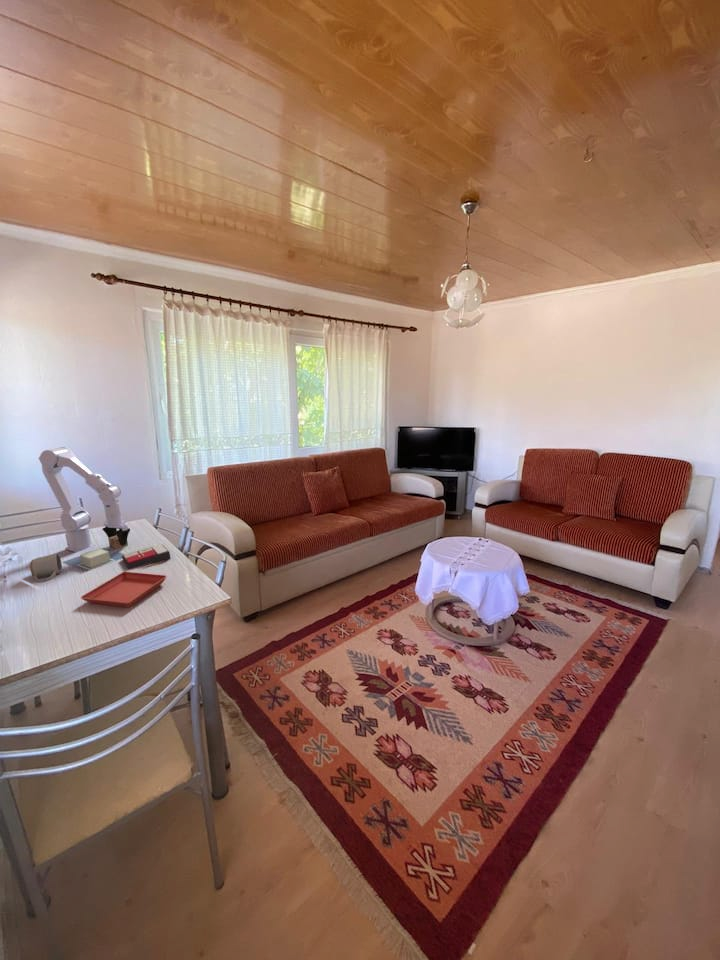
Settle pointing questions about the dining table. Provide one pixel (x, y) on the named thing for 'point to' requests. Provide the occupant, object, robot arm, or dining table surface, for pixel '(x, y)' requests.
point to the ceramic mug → (46, 567)
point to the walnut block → (115, 542)
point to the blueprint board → (113, 557)
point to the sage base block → (95, 558)
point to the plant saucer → (124, 589)
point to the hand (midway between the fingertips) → (118, 543)
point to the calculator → (146, 556)
